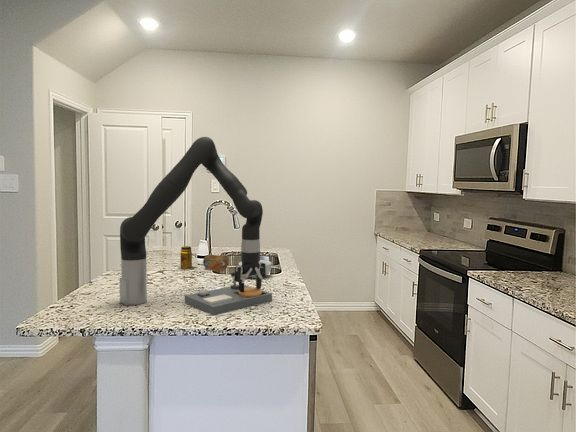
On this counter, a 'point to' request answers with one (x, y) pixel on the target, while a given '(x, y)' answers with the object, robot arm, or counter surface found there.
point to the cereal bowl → (267, 265)
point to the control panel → (229, 305)
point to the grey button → (203, 292)
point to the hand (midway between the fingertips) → (250, 290)
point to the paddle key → (217, 299)
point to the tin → (215, 262)
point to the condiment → (186, 258)
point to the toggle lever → (233, 278)
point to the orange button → (251, 292)
